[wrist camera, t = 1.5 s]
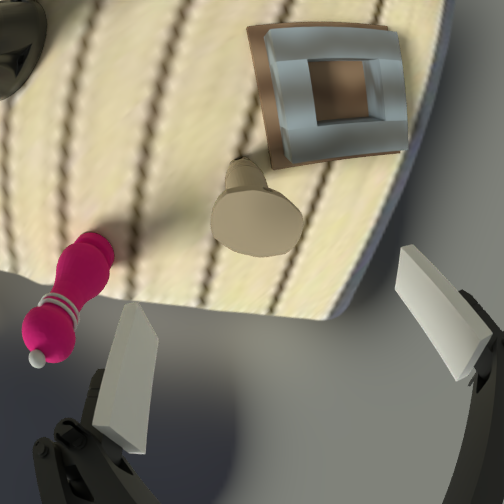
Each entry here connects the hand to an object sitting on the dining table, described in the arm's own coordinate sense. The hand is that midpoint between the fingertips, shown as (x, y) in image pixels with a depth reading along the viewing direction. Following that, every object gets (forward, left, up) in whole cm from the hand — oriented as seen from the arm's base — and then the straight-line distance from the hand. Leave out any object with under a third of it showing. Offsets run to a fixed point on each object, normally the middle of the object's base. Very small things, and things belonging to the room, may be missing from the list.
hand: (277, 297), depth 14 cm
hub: (-8, +12, -22) cm, 27 cm away
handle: (0, 0, -23) cm, 23 cm away
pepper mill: (+6, -22, -23) cm, 32 cm away
